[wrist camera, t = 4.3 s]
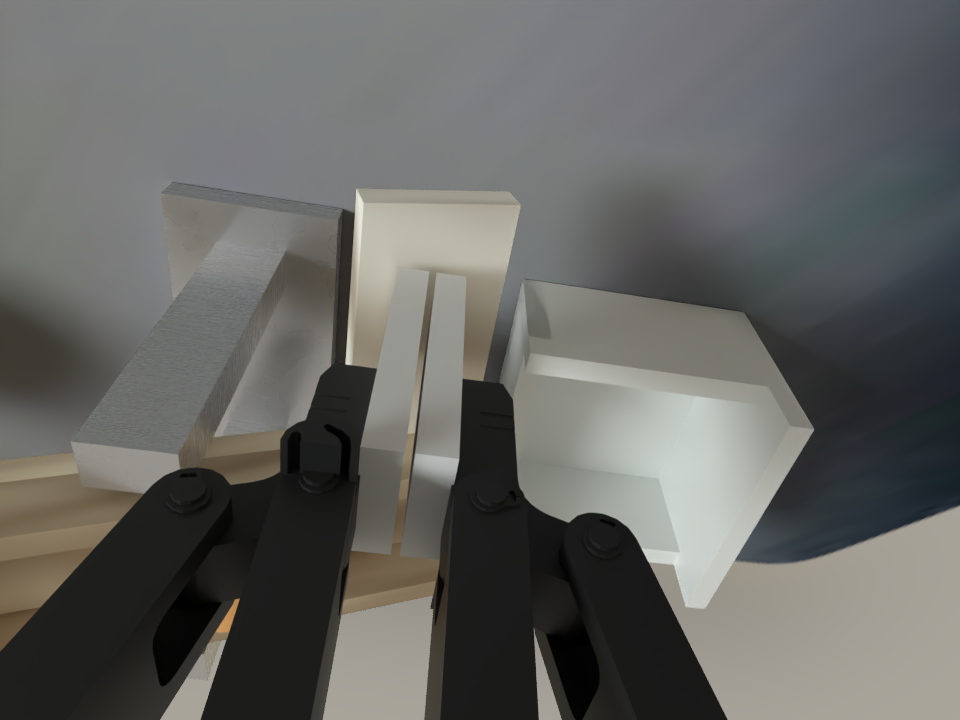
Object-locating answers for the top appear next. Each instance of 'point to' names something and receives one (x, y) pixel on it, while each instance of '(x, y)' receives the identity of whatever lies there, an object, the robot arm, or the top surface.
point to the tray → (650, 422)
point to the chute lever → (256, 456)
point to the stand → (221, 340)
